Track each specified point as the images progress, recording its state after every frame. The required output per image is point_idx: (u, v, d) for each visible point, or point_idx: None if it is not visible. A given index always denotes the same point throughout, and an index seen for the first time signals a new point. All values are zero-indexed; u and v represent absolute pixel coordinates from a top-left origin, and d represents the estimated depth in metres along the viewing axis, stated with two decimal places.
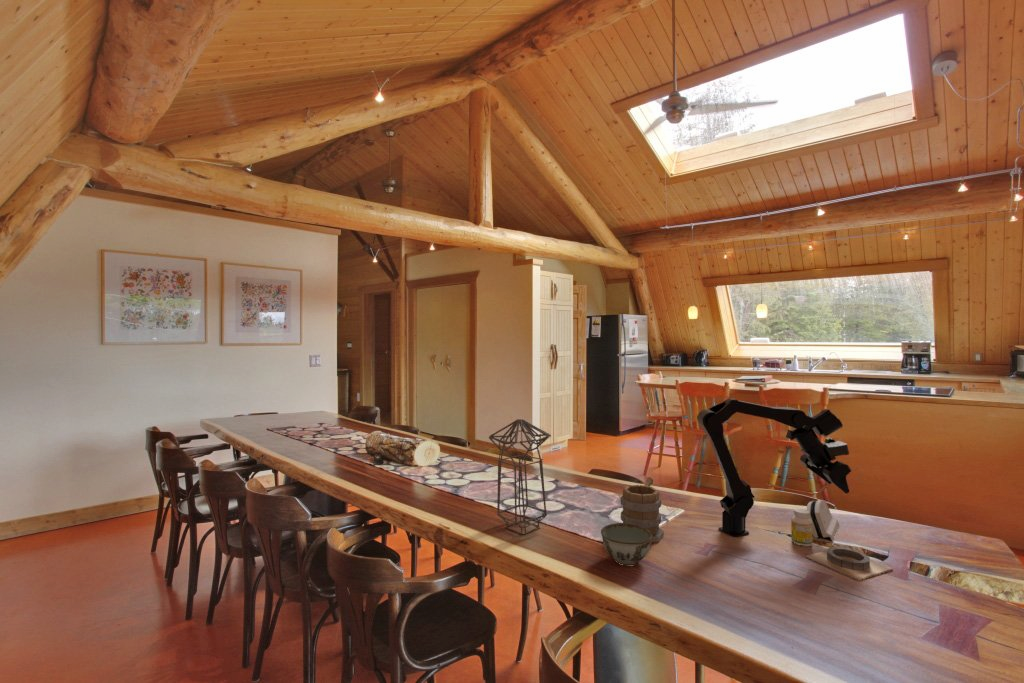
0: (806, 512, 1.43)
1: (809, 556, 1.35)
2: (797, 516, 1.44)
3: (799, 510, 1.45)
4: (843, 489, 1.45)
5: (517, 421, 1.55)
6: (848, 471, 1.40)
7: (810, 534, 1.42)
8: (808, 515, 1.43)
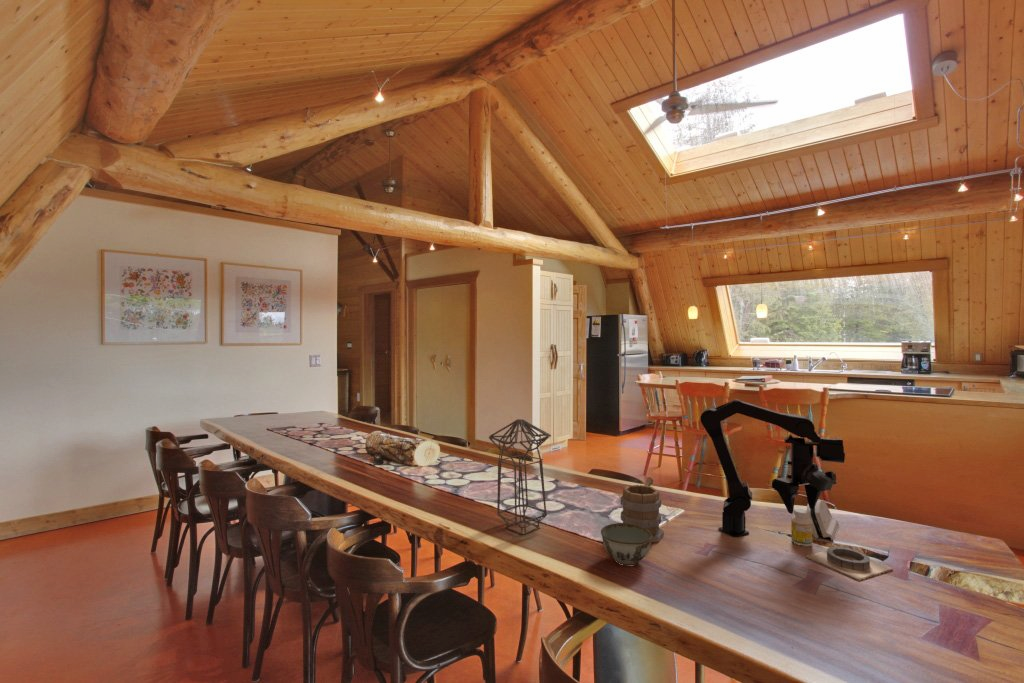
0: (806, 512, 1.43)
1: (809, 556, 1.35)
2: (797, 516, 1.44)
3: (799, 510, 1.45)
4: (787, 507, 1.43)
5: (517, 421, 1.55)
6: (786, 491, 1.39)
7: (810, 534, 1.42)
8: (808, 515, 1.43)
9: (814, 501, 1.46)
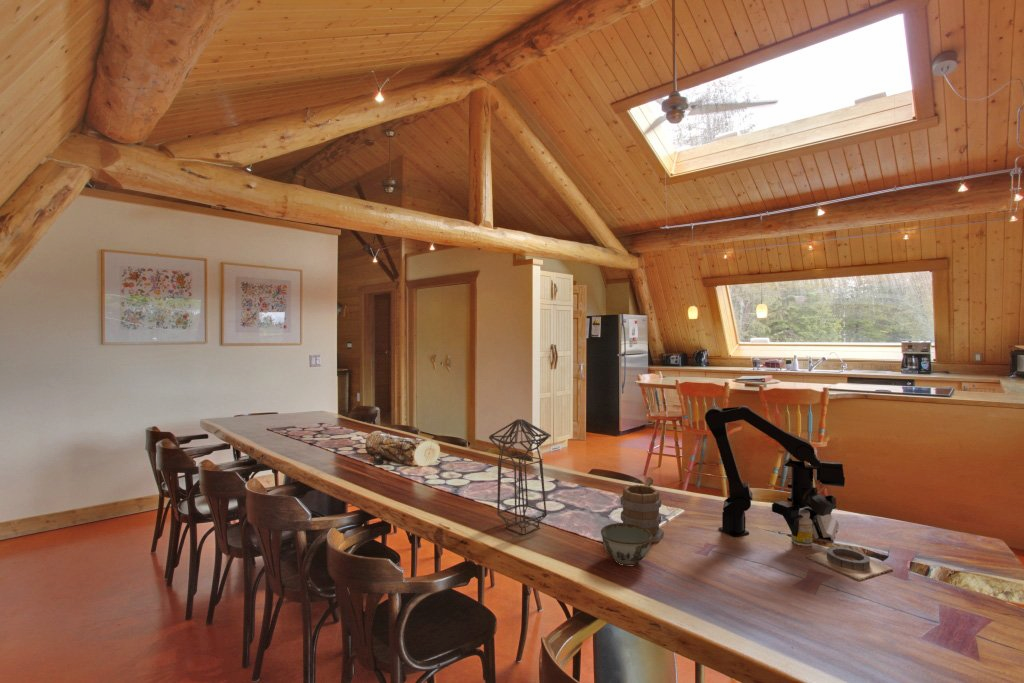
0: (806, 512, 1.43)
1: (809, 556, 1.35)
2: None
3: None
4: (791, 529, 1.44)
5: (517, 421, 1.55)
6: (786, 515, 1.39)
7: (810, 534, 1.42)
8: (808, 515, 1.43)
9: None
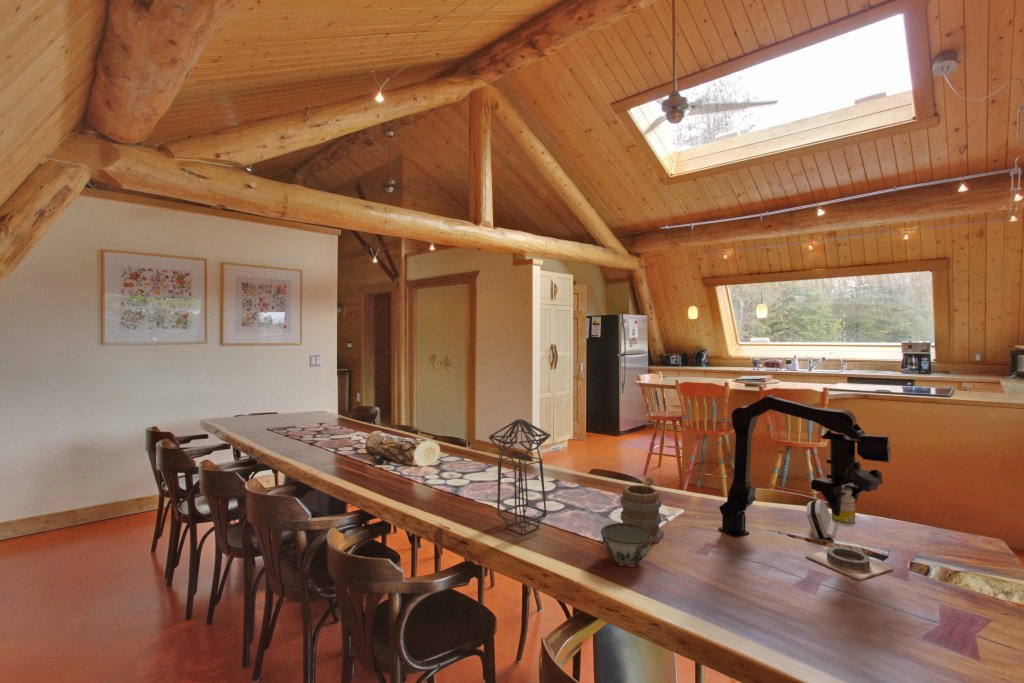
0: (848, 489, 1.32)
1: (809, 556, 1.35)
2: None
3: None
4: (832, 508, 1.32)
5: (517, 421, 1.55)
6: (828, 492, 1.27)
7: (853, 513, 1.30)
8: (850, 492, 1.31)
9: None
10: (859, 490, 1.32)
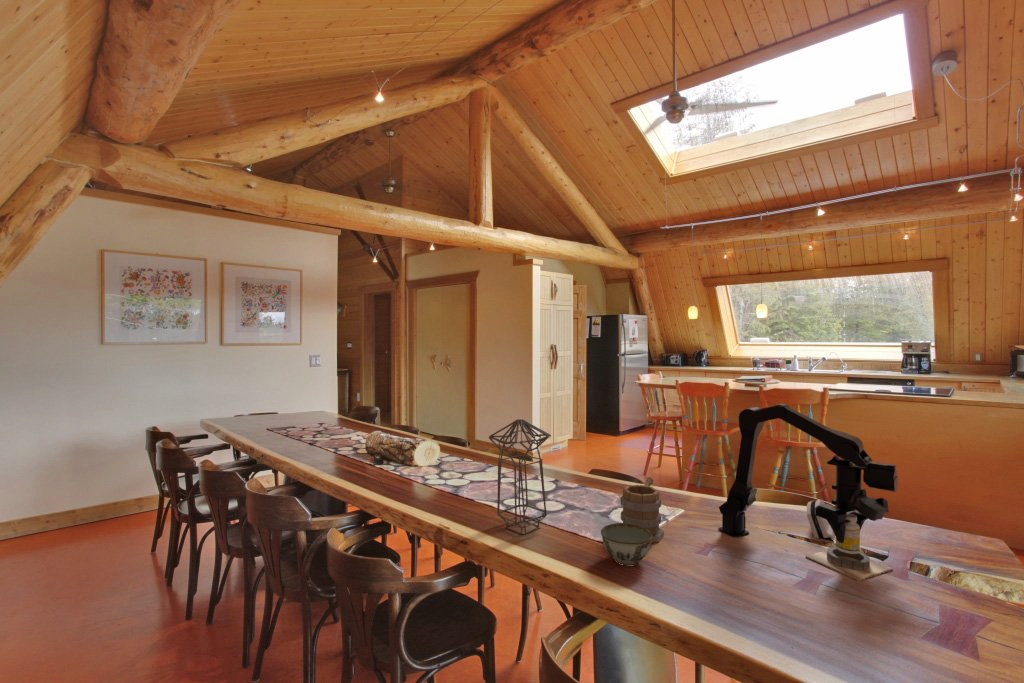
0: (853, 516, 1.30)
1: (809, 556, 1.35)
2: None
3: None
4: (837, 535, 1.31)
5: (517, 421, 1.55)
6: (832, 519, 1.26)
7: (858, 540, 1.29)
8: (855, 519, 1.30)
9: None
10: (864, 517, 1.31)
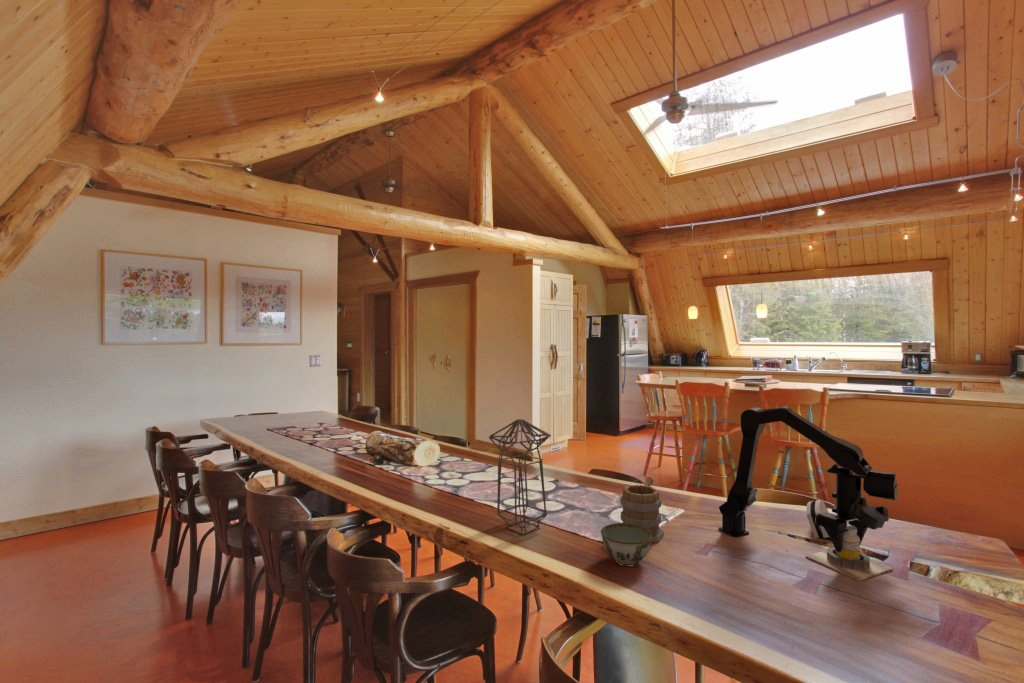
0: (853, 528, 1.30)
1: (809, 556, 1.35)
2: None
3: None
4: (834, 544, 1.30)
5: (517, 421, 1.55)
6: (833, 528, 1.26)
7: (858, 552, 1.29)
8: (855, 531, 1.30)
9: (860, 538, 1.32)
10: (867, 525, 1.31)
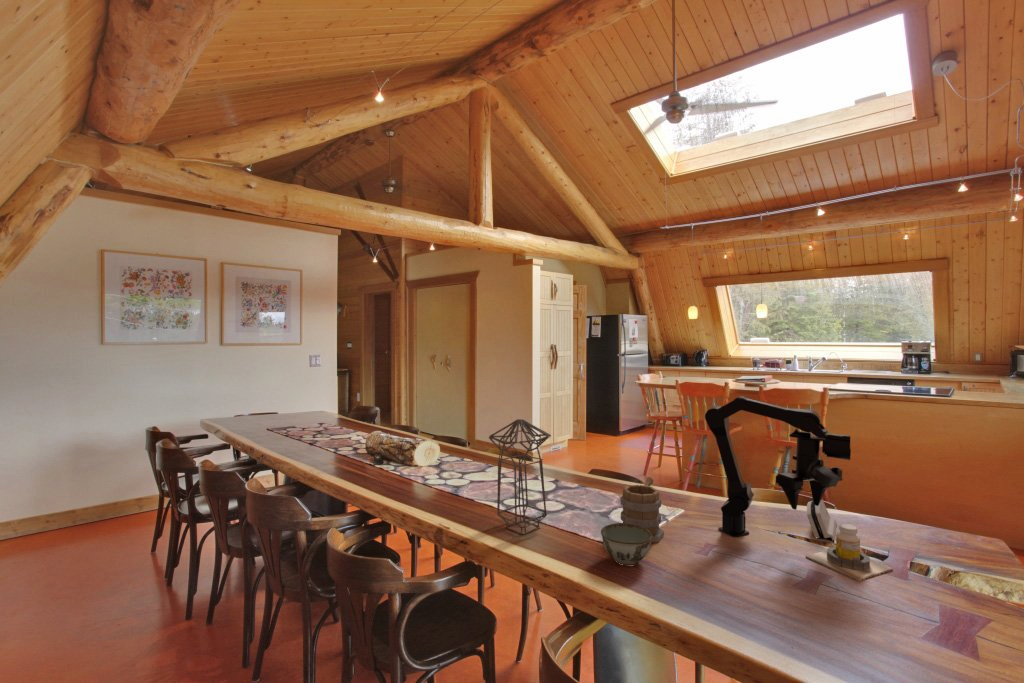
0: (853, 528, 1.30)
1: (809, 556, 1.35)
2: (844, 532, 1.30)
3: (845, 526, 1.32)
4: (791, 502, 1.40)
5: (517, 421, 1.55)
6: (790, 486, 1.36)
7: (858, 552, 1.29)
8: (856, 531, 1.30)
9: (819, 497, 1.43)
10: None
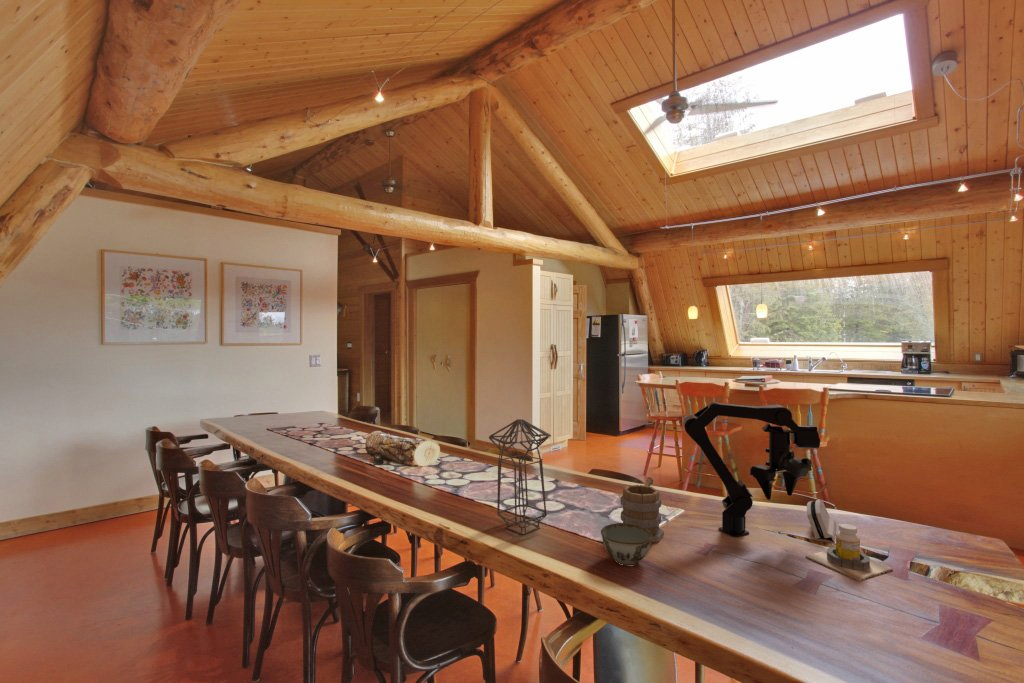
0: (853, 528, 1.30)
1: (809, 556, 1.35)
2: (844, 532, 1.30)
3: (845, 526, 1.32)
4: (765, 493, 1.48)
5: (517, 421, 1.55)
6: (763, 477, 1.44)
7: (858, 552, 1.29)
8: (855, 531, 1.30)
9: (791, 488, 1.50)
10: None
